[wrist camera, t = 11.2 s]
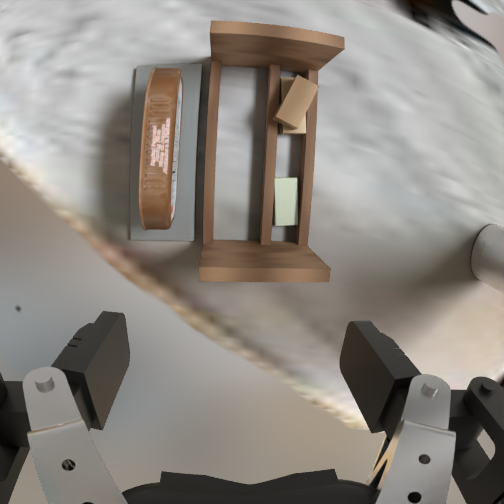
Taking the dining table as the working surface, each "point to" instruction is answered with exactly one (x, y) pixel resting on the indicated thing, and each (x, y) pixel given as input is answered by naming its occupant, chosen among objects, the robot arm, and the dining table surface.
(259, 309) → the dining table surface
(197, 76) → the felt mat
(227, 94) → the dining table surface
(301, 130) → the offcut maple
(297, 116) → the offcut oak
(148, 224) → the tin
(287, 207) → the offcut sage
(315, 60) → the rack
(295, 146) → the dining table surface
